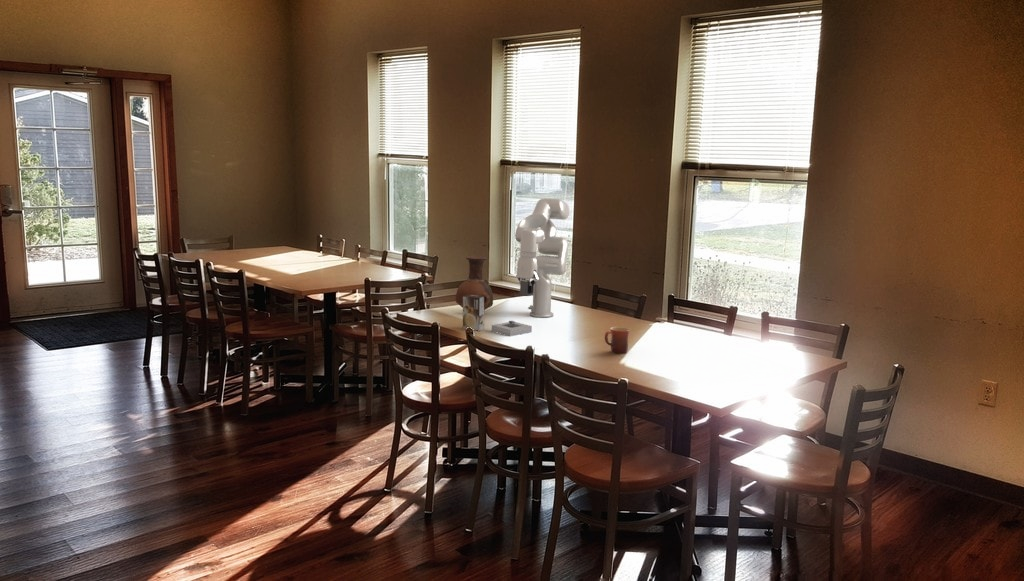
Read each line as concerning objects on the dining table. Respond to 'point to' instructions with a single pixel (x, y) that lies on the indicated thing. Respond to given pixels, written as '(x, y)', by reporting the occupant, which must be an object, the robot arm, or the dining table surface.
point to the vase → (475, 283)
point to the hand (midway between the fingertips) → (526, 292)
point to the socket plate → (511, 328)
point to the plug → (525, 288)
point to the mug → (618, 339)
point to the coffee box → (473, 312)
